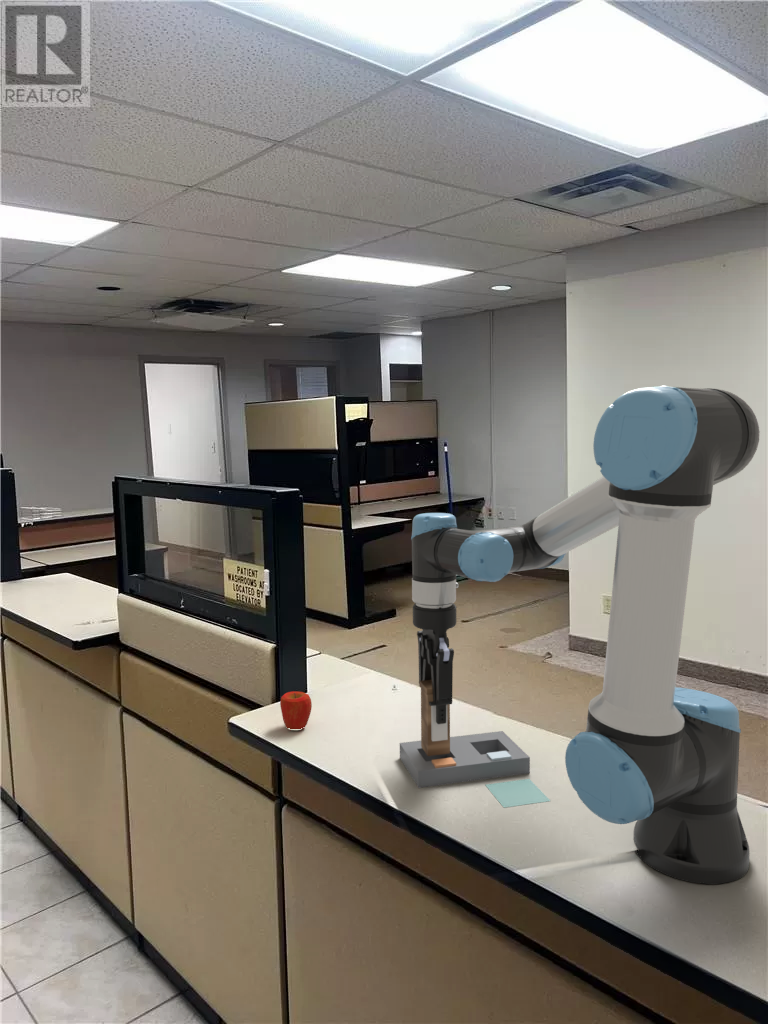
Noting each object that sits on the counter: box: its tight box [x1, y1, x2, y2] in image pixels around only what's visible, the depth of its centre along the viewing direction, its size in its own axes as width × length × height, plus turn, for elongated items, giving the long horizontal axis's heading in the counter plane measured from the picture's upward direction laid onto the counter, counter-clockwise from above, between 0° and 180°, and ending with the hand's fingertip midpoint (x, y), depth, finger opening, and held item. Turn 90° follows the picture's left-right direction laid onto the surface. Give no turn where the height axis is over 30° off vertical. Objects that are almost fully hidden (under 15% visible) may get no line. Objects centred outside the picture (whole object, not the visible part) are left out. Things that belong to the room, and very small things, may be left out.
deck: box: [484, 778, 551, 809], centre depth 121 cm, size 8×8×1 cm
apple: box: [279, 691, 313, 729], centre depth 153 cm, size 6×6×8 cm
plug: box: [418, 680, 451, 756], centre depth 130 cm, size 4×4×12 cm
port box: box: [399, 730, 531, 789], centre depth 132 cm, size 12×20×4 cm, turn 104°
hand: (435, 734), depth 130 cm, fingers closed on plug, 4 cm apart
